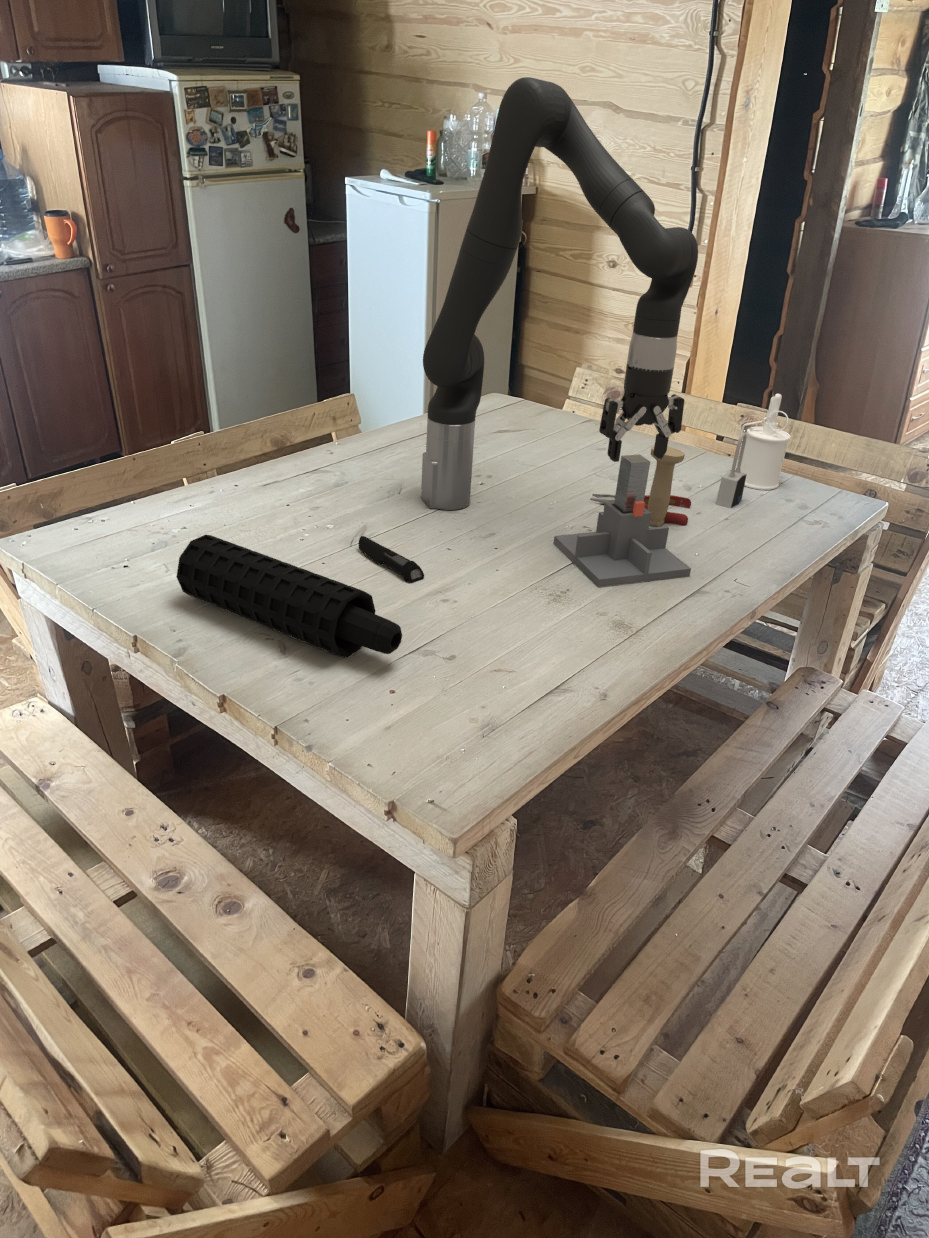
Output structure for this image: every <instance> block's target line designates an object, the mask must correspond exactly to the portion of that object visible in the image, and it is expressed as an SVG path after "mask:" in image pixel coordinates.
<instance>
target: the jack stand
mask: <svg viewBox="0 0 929 1238" xmlns="http://www.w3.org/2000/svg"><path fill="white" fill-rule="evenodd" d="M603 504H604V503H603ZM644 506H645V502H643V501H638V502H634V508H633V513H625V514H623V513H621V512H620V511H619V510H618V509H616V508H615V507H614V502H607V503H605V504H604V506H603V511H599V512H598V514H597V515H598V516H597V522H596V523H597V524H596V529H595V531H590V532H581V533H580V532H579V533H570V534H559V535H554V537H553V545H554V546H556V547H557V548H558V549H559V551H561V552H562V553H563V554H564V555H565V556H566V557H567V559H569V560H570V562H572V563H573V564H574V565H575V566H576V567H577V569H579V571H581V572H582V573H583V574H584V575H585V576H586V577H587V578H588V579H589V580H590V581H591V582H592V583H593V584H594V585H595V586H596V587H598V588H604V587H610V586H612V587H613V586H619V585H620V586H621V585H628V584H636V583H637V584H638V583H644V582H645V583H646V582H653V581H660V580H661V581H662V580H671V579H678V578H679V579H680V578H684V577H690V576H691V571H692V568H691V567H690V566H688V564H686V563H685V562H683V560H681V559H680V558H678V556H676V554H674V553H673V552H671V551H670V550H669V549H667V548H666V546H667V543H668V542H667V541H668V537H669V532H670V527H669V526H666V525H662V526H659V527H657V526H654V527H653V526H652V527H650V526H651V525H650V519H651V514H652V513H651V512H650V511H648V510H647V509H646V508H644Z"/></svg>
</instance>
